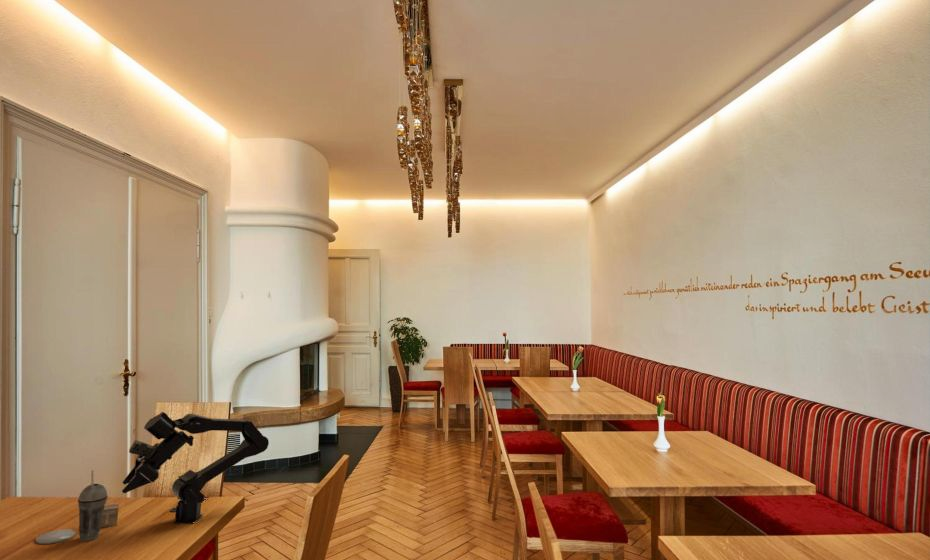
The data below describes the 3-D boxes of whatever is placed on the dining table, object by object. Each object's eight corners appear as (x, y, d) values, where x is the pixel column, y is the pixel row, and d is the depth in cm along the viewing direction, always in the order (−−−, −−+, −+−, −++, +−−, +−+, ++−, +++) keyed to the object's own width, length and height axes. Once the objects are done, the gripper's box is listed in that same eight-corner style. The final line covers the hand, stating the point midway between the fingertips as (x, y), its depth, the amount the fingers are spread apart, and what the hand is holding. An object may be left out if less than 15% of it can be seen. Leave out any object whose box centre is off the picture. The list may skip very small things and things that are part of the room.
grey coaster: (82, 531, 153) (82, 529, 153) (60, 544, 144) (60, 542, 144) (51, 531, 152) (51, 529, 152) (27, 544, 143) (27, 542, 143)
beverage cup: (109, 533, 152) (116, 466, 153) (89, 544, 144) (96, 473, 146) (88, 532, 152) (94, 465, 154) (66, 542, 145) (74, 472, 147)
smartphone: (168, 511, 170) (190, 495, 185) (167, 513, 170) (190, 497, 185) (189, 511, 170) (210, 496, 185) (189, 514, 170) (210, 498, 185)
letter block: (96, 522, 160) (98, 504, 160) (117, 519, 163) (118, 502, 163) (95, 529, 155) (97, 510, 155) (116, 525, 158) (118, 507, 158)
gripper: (147, 425, 166) (103, 463, 159) (149, 437, 150) (100, 480, 143) (173, 447, 169) (131, 485, 162) (177, 460, 154) (130, 503, 147)
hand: (123, 487), depth 154 cm, fingers open, 9 cm apart
